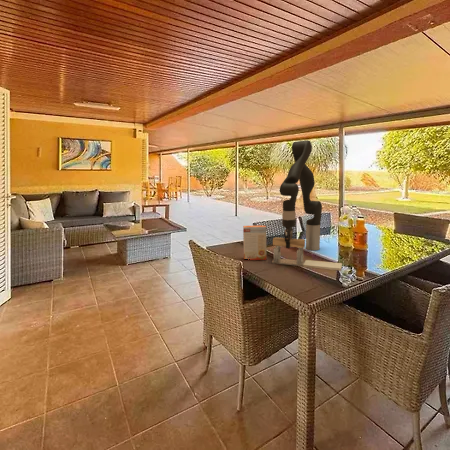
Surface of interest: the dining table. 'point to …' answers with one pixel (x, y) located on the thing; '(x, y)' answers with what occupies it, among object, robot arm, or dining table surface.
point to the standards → (286, 261)
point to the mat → (323, 265)
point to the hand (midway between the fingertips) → (288, 246)
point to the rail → (293, 242)
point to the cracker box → (254, 242)
